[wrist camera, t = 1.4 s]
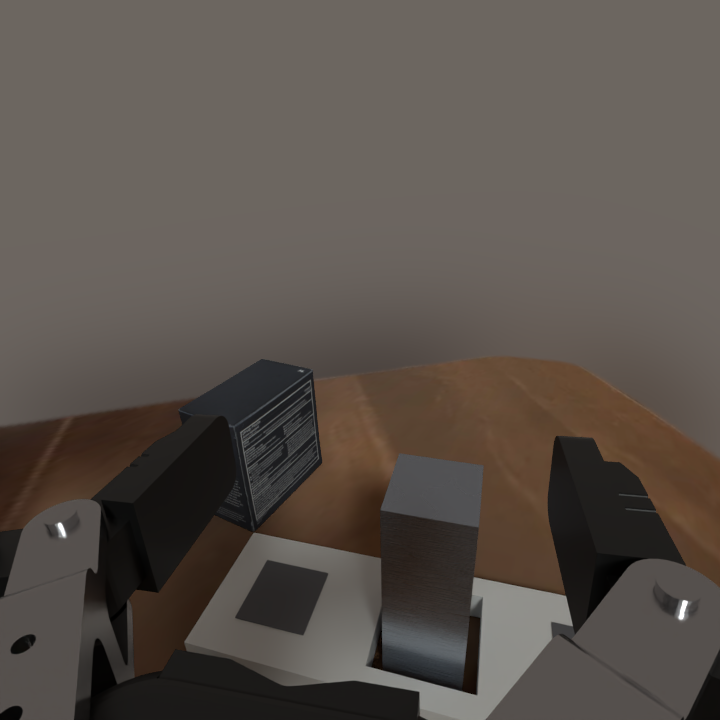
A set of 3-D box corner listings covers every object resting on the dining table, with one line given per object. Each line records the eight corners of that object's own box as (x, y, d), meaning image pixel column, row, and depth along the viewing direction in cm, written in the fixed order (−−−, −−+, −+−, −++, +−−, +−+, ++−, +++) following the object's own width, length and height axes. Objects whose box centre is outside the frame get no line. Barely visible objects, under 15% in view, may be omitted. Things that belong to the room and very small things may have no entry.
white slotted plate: (190, 663, 29) (183, 641, 29) (256, 551, 37) (253, 531, 36) (711, 815, 22) (724, 792, 21) (659, 637, 30) (667, 615, 29)
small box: (272, 445, 50) (261, 355, 46) (324, 463, 47) (317, 368, 43) (197, 508, 42) (173, 406, 37) (254, 534, 39) (236, 426, 35)
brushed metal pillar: (382, 677, 28) (380, 510, 23) (398, 610, 32) (399, 453, 27) (461, 698, 27) (478, 527, 22) (467, 626, 31) (483, 465, 26)
